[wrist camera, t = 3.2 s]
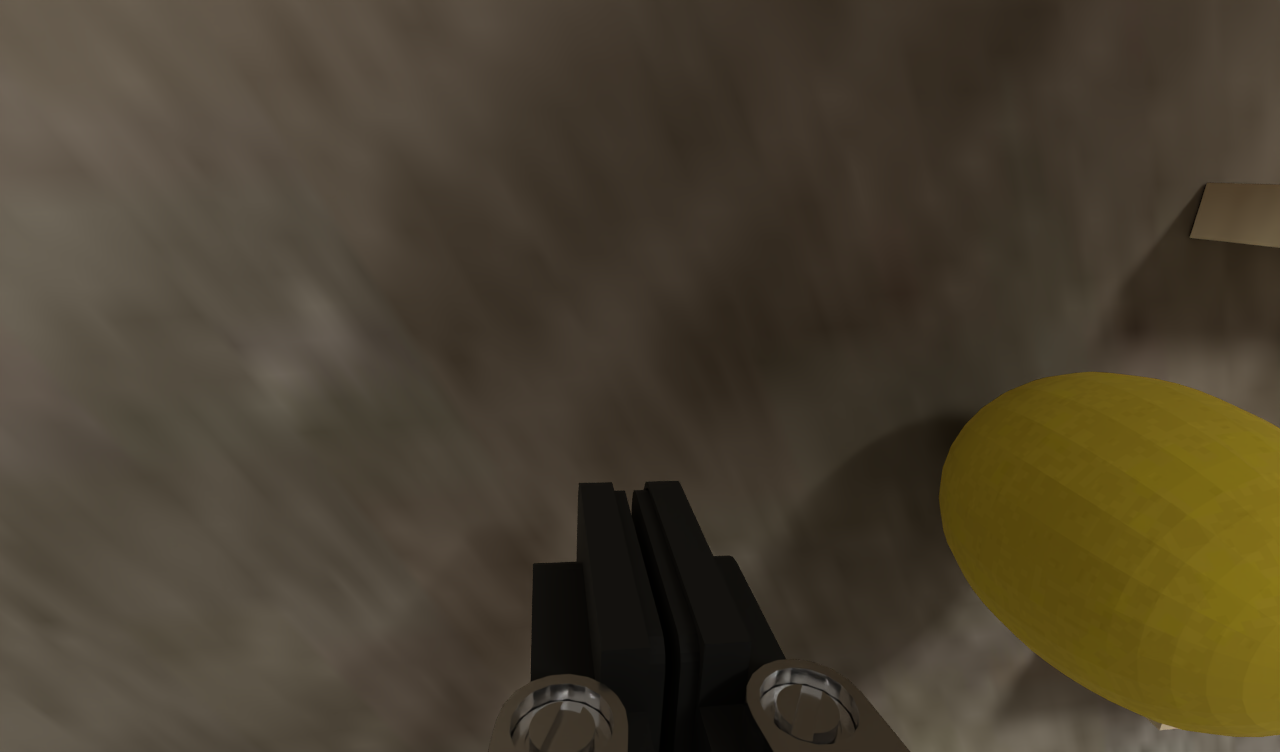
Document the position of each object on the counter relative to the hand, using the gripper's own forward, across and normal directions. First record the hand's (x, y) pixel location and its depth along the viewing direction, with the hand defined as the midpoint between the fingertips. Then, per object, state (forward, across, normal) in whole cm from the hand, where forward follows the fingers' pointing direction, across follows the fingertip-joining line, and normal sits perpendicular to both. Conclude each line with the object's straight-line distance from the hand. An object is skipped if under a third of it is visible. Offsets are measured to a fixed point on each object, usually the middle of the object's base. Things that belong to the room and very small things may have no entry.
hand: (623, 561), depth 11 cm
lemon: (+4, -9, 0) cm, 10 cm away
